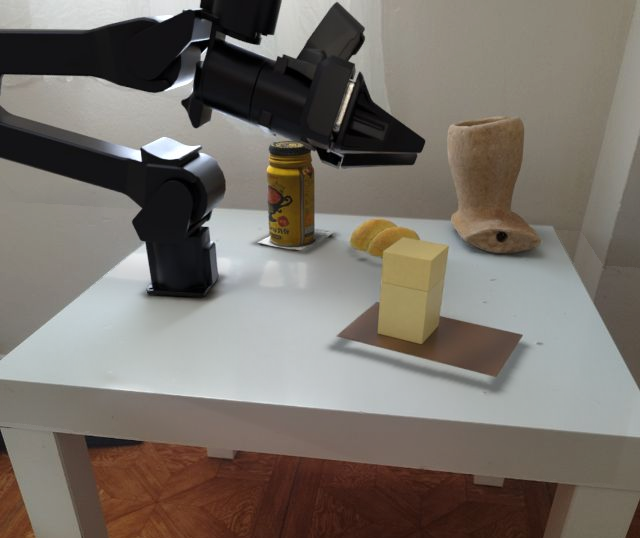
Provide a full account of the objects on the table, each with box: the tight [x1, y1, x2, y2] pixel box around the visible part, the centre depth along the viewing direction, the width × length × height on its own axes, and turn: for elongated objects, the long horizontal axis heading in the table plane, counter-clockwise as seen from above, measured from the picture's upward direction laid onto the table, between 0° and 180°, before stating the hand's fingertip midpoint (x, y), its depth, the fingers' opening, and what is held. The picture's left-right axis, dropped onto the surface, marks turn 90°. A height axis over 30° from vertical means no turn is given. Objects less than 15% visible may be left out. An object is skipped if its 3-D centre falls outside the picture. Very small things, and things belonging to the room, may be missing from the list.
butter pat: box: [380, 237, 450, 292], centre depth 54 cm, size 4×4×3 cm
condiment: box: [256, 140, 335, 251], centre depth 79 cm, size 7×8×12 cm
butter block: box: [378, 275, 446, 344], centre depth 56 cm, size 4×4×5 cm
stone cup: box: [446, 115, 543, 254], centre depth 79 cm, size 15×12×15 cm
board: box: [336, 301, 523, 378], centre depth 57 cm, size 15×9×1 cm, turn 61°
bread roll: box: [349, 217, 421, 258], centre depth 77 cm, size 8×9×4 cm
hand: (419, 153), depth 57 cm, fingers open, 9 cm apart
